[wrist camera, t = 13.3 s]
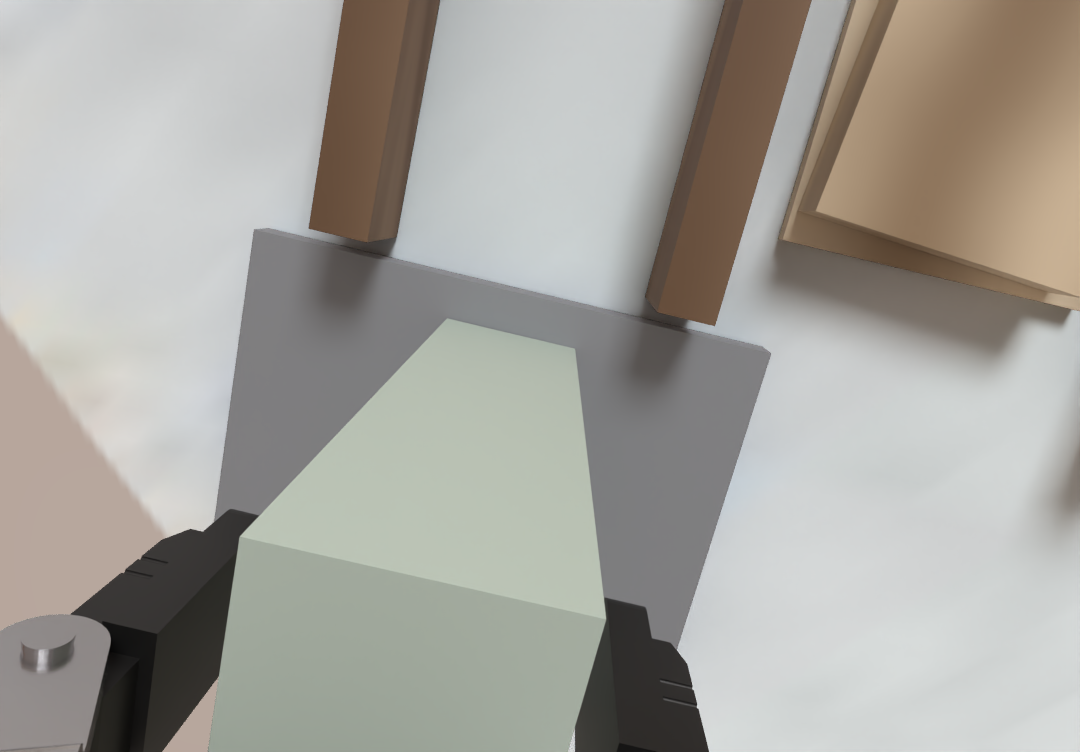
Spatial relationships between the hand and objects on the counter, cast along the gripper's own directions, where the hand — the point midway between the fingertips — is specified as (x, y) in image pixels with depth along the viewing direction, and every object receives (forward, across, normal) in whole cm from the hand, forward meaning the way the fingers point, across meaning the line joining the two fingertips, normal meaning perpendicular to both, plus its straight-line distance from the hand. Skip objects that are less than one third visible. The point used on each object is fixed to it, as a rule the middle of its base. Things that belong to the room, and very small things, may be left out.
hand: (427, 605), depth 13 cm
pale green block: (+5, 0, 0) cm, 5 cm away
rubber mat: (+6, 0, 0) cm, 6 cm away
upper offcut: (+6, -9, -12) cm, 16 cm away
